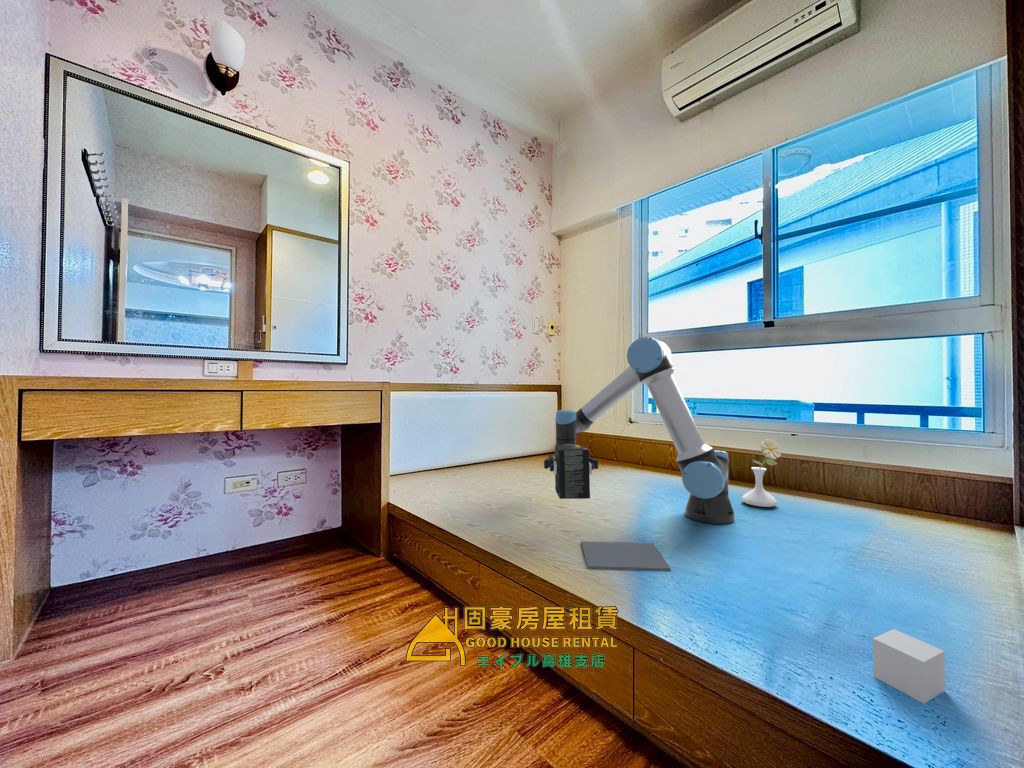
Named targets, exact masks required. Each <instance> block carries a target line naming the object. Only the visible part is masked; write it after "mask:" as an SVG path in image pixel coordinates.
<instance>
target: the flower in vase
mask: <svg viewBox="0 0 1024 768" xmlns="http://www.w3.org/2000/svg"><path fill="white" fill-rule="evenodd" d="M759 445H760V446H759V447H760V452H762V454H763V456H764V457H765V458H764V460H763V462H760V461H757V460H756V459H754V458H752V462H753V463H755V464H758V465H760V466H752V467H751V470H752V471H753V473H754V478H755V484H754V488H752V489H751V490H749V491H748V492H745V494H743V495H742V497H741V500H742V502H744V503H746V504H748V505H751V506H753V507H754V506H755V507H762V508H771V507H775V506H777V504H778V501H777V500H776V498H775V497H773V495H772V494H770V493H769V492H767V491H766V490H765V488H764V485H763V479H764V478H763V477H764V475H765V473H766V471H767V470H768V468H765V467H763V465H764V464H765V463H766V464H767V465H769V466H771V467H772V466H775V465H777V464H778V462H776V459H778V458H780V457H782V453H783V451H782V448H781V446H780V444H778V443H777V441H776V440H774V439H769V438H766V439H763V441H761V442H760V444H759Z"/></svg>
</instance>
